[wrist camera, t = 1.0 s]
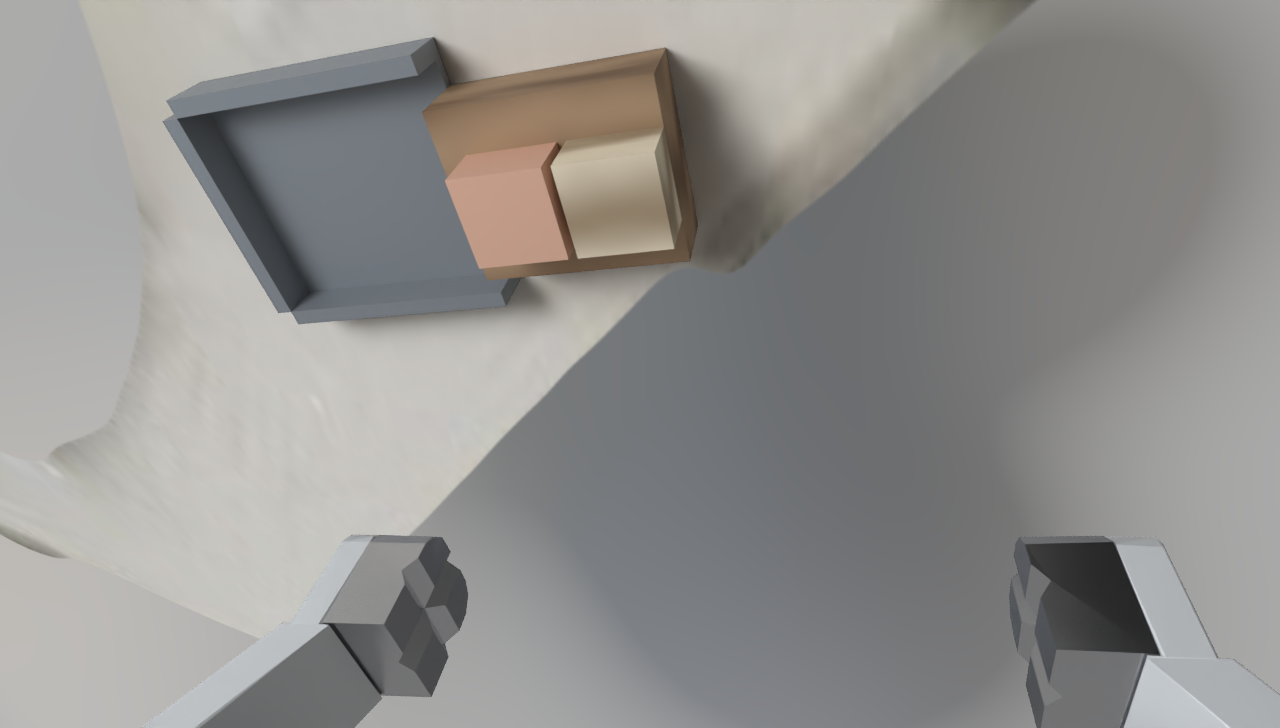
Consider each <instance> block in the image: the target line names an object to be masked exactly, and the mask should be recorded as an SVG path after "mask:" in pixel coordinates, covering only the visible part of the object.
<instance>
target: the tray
mask: <svg viewBox="0 0 1280 728" xmlns="http://www.w3.org/2000/svg"><path fill="white" fill-rule="evenodd" d="M449 86H450V82H449V80H448V77H447V74H446V71H445V68H444V66H443V63H442V60H441V57H440V55H439V52H438V49H437V46H436V43H435V41H434V38H433V37H432V38H426V39H421V40H416V41H411V42H406V43H401V44H395V45H390V46H385V47H380V48H375V49H369V50H364V51H359V52H354V53H349V54H344V55H338V56H333V57H328V58H323V59H318V60H313V61H307V62H302V63H297V64H292V65H287V66H282V67H276V68H271V69H266V70H261V71H256V72H250V73H245V74H240V75H235V76H230V77H225V78H219V79H214V80H209V81H204V82H200V83H198V84H196V85H194V86H192V87H191V88H189V89H187V90H185V91H183V92H181V93H180V94H178V95H176V96H174V97H172V98H170V99H169V100H167V103H168V105H169V106H170V108H171V110H172V111H173V113H174V115H172V116H171V117H169V118H167V119H166V120H164V121H162V122H163V123H164V125H165V126H166V128H167V130H168V131H169V133H170V135H171V136H172V138H173V140H174V141H175V143H176V145H177V146H178V148H179V150H180V151H181V153H182V155H183V156H184V158H185V160H186V161H187V163H188V164H189V166H190V168H191V169H192V171H193V173H194V174H195V176H196V178H197V179H198V181H199V183H200V184H201V186H202V188H203V189H204V191H205V193H206V194H207V196H208V197H209V199H210V201H211V202H212V204H213V206H214V207H215V209H216V211H217V212H218V214H219V216H220V217H221V219H222V221H223V222H224V224H225V226H226V227H227V229H228V231H229V232H230V234H231V235H232V237H233V239H234V240H235V242H236V244H237V245H238V247H239V249H240V250H241V252H242V254H243V255H244V257H245V259H246V260H247V262H248V264H249V265H250V267H251V269H252V270H253V272H254V273H255V275H256V277H257V278H258V280H259V282H260V283H261V285H262V287H263V288H264V290H265V292H266V293H267V295H268V297H269V298H270V300H271V302H272V303H273V305H274V307H275V308H276V310H277V311H278V313H283V312H292V314H293V316H294V317H295V319H296V321H297V322H298V324H306V323H317V322H329V321H341V320H352V319H364V318H376V317H387V316H399V315H410V314H422V313H434V312H445V311H457V310H468V309H480V308H492V307H503V306H506V305H507V303H508V301H509V300H510V298H511V296H512V294H513V292H514V290H515V288H516V287H517V285H518V283H519V281H520V278H509V279H498V280H488V281H487V279H486V276H485V274H484V271H483V268H482V269H479V267H478V264H477V262H476V259H475V257H474V254H473V252H472V249H471V247H470V244H469V241H468V239H467V236H466V234H465V231H464V229H463V226H462V224H461V221H460V219H459V216H458V213H457V211H456V208H455V206H454V203H453V201H452V198H451V196H450V193H449V191H448V188H447V185H446V183H445V180H446V179H447V176H446V173H445V171H444V168H443V166H442V163H441V161H440V158H439V155H438V153H437V150H436V148H435V145H434V143H433V140H432V137H431V135H430V132H429V130H428V127H427V125H426V122H425V119H424V117H423V114H422V111H423V110H424V109H426V108H427V107H428V106H429V105H430V104H431V103H432V102H433V101H434V100H435V99H436V98H437V97H438V96H439V95H440V94H441V93H443V92H444V91H445V90H446V89H447V88H448V87H449Z"/></svg>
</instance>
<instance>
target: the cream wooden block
mask: <svg viewBox="0 0 1280 728" xmlns="http://www.w3.org/2000/svg"><path fill="white" fill-rule="evenodd" d="M550 167H551V170H552V173H553V177H554V180H555V183H556V187H557V190H558V193H559V197H560V200H561V204H562V207H563V210H564V214H565V217H566V220H567V224H568V227H569V230H570V234H571V237H572V241H573V244H574V247H575V251H576V254H577V257H578V259H580V258H590V257H600V256H610V255H620V254H630V253H639V252H649V251H659V250H669V249H674V248H675V244H676V241H677V237H678V233H679V229H680V225H681V221H682V218H681V213H680V207H679V202H678V197H677V192H676V187H675V182H674V176H673V171H672V166H671V161H670V156H669V151H668V145H667V140H666V135H665V130H664V127H657V128H650V129H643V130H637V131H630V132H623V133H616V134H609V135H602V136H595V137H588V138H582V139H575V140H568V141H566V142H565V143H564V145H563V146H562V148H561V150H560V151H559V153H558V155H557V156H556V158H555V160H554V161H553V163H552V165H551V166H550Z"/></svg>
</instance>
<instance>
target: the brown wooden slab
mask: <svg viewBox="0 0 1280 728" xmlns="http://www.w3.org/2000/svg"><path fill="white" fill-rule="evenodd" d="M422 114H423V117H424V119H425V122H426V125H427V127H428V130H429V132H430V135H431V137H432V140H433V143H434V145H435V148H436V150H437V153H438V155H439V158H440V161H441V163H442V166H443V168H444V171H445V173H446V176H447V177H448V176H449V175H450V174H451V173H452V171H453V170H454V169H455V168H456V167H457V165H458V164H459V163H460V162H461V161H462V159H463V158H464V157H465V156H466V155H472V154H478V153H485V152H492V151H499V150H506V149H513V148H520V147H527V146H533V145H540V144H547V143H554V142H557V145H558V149H559V151H560V150H561V148H562V146H563V145H564V143H565V142H566V141H568V140H575V139H582V138H588V137H595V136H602V135H609V134H616V133H623V132H630V131H637V130H643V129H650V128H657V127H664V130H665V135H666V140H667V145H668V151H669V156H670V161H671V166H672V171H673V176H674V182H675V187H676V192H677V197H678V202H679V207H680V213H681V218H682V221H681V225H680V229H679V233H678V237H677V241H676V244H675V248H674V249H669V250H659V251H649V252H639V253H630V254H620V255H610V256H600V257H590V258H580V259H578V257H577V254H576V251H575V247H574V249H573V251H572V253H571V256H570V258H569V260H561V261H551V262H541V263H531V264H521V265H511V266H501V267H491V268H483V271H484V274H485V276H486V279H487V281H488V280H498V279H509V278H519V277H530V276H540V275H550V274H561V273H571V272H581V271H592V270H602V269H612V268H623V267H633V266H644V265H654V264H664V263H675V262H685V261H690V258H691V254H692V249H693V245H694V240H695V236H696V231H697V227H698V224H697V218H696V212H695V207H694V201H693V196H692V190H691V185H690V179H689V174H688V168H687V163H686V157H685V152H684V146H683V140H682V135H681V129H680V124H679V118H678V113H677V107H676V102H675V96H674V91H673V85H672V79H671V74H670V68H669V63H668V57H667V52H666V48H661V49H655V50H650V51H644V52H638V53H632V54H626V55H621V56H615V57H609V58H603V59H598V60H592V61H586V62H580V63H575V64H569V65H563V66H557V67H552V68H546V69H540V70H534V71H529V72H523V73H517V74H511V75H505V76H500V77H494V78H488V79H482V80H477V81H471V82H465V83H459V84H454V85H450V86H449V87H448V88H447V89H446V90H445V91H444V92H443V93H441V94H440V95H439V96H438V97H437V98H436V99H435V100H434V101H433V102H432V103H431V104H430V105H429V106H428V107H427V108H426V109H424V110H423V111H422Z"/></svg>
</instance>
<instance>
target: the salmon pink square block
mask: <svg viewBox="0 0 1280 728" xmlns="http://www.w3.org/2000/svg"><path fill="white" fill-rule="evenodd" d="M558 153H559V149H558V145H557V142H554V143H547V144H540V145H533V146H527V147H520V148H513V149H506V150H499V151H492V152H485V153H478V154H472V155H466V156H465V157H464V158H463V159H462V161H461V162H460V163H459V164H458V165H457V167H456V168H455V169H454V170H453V171H452V173H451V174H450V175H449V176H448V177H447V179H446V180H445V183H446V185H447V188H448V191H449V193H450V196H451V198H452V201H453V203H454V206H455V208H456V211H457V213H458V216H459V219H460V221H461V224H462V226H463V229H464V231H465V234H466V236H467V239H468V241H469V244H470V247H471V249H472V252H473V254H474V257H475V259H476V262H477V264H478V267H479V269H482V268H491V267H501V266H511V265H521V264H531V263H541V262H551V261H561V260H569V258H570V256H571V253H572V251H573V249H574V244H573V241H572V237H571V234H570V230H569V227H568V224H567V220H566V217H565V214H564V210H563V207H562V204H561V200H560V197H559V193H558V190H557V187H556V183H555V180H554V177H553V173H552V170H551V167H550V166H551V165H552V163H553V161H554V160H555V158H556V156H557V155H558Z"/></svg>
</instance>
